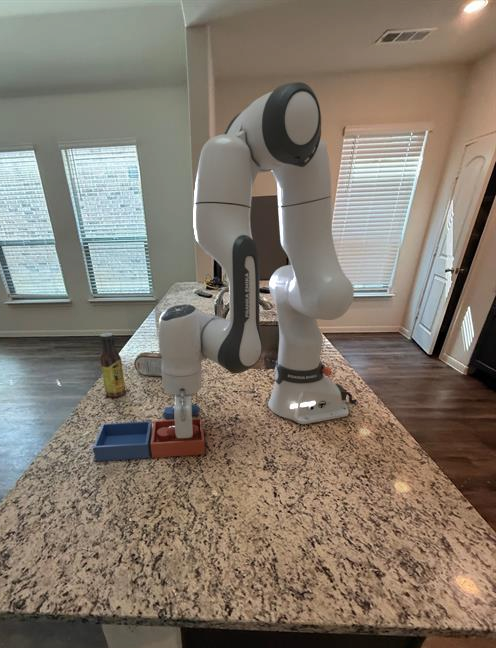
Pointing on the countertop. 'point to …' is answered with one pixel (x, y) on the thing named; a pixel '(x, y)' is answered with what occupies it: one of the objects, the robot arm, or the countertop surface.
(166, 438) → the red lumpy bar
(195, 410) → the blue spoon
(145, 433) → the blue bin
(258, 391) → the countertop surface
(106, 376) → the sauce bottle
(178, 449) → the red bin
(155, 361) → the tin
